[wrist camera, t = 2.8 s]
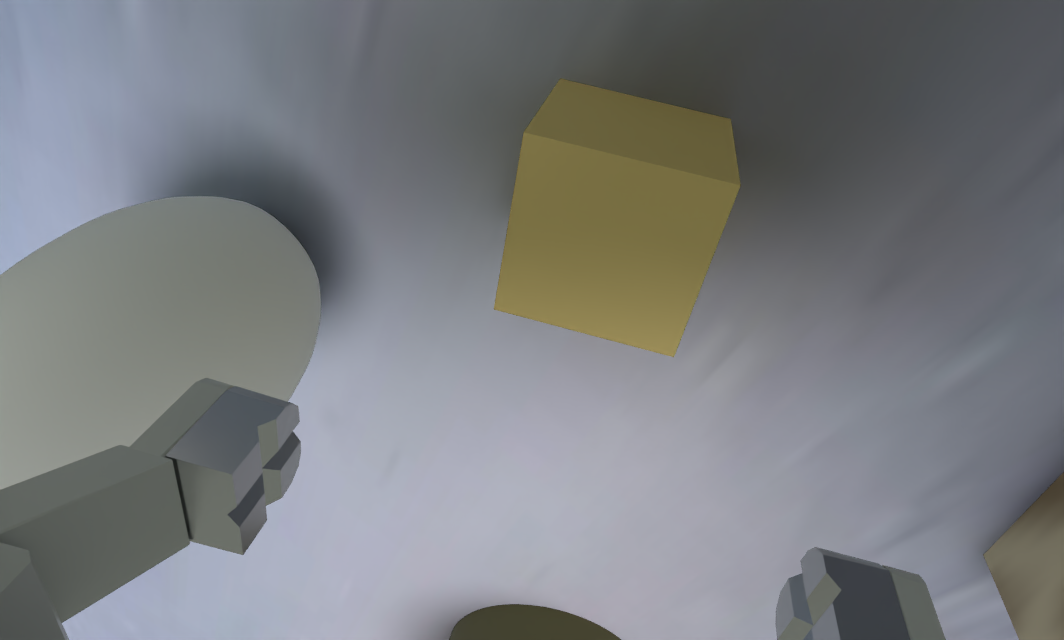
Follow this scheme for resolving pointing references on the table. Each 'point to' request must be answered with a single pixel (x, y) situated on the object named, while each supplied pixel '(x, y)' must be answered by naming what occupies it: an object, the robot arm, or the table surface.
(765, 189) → the table surface
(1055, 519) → the birch tower base
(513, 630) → the piston
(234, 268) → the air blower bulb
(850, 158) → the table surface
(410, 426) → the table surface
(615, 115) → the mustard cube
